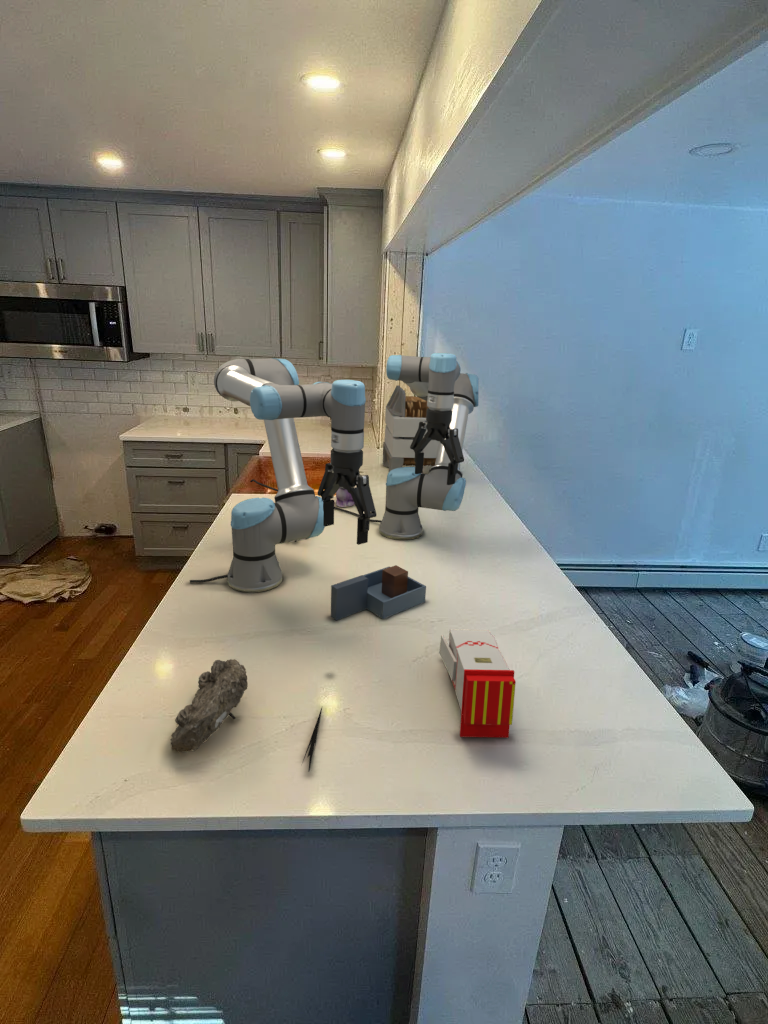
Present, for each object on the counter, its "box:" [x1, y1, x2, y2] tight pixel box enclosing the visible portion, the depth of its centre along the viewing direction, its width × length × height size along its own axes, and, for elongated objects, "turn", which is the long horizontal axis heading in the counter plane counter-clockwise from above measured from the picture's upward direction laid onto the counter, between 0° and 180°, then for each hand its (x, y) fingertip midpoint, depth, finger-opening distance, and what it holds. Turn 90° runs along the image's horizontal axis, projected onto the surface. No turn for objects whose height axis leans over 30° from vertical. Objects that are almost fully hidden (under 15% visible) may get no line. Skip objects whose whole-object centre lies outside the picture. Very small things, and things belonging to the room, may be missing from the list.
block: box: [382, 564, 409, 598], centre depth 155 cm, size 5×5×7 cm
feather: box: [301, 673, 332, 771], centre depth 108 cm, size 2×28×2 cm
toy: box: [438, 628, 517, 738], centre depth 117 cm, size 12×13×30 cm
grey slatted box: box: [381, 384, 461, 473], centre depth 268 cm, size 34×33×41 cm
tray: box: [330, 566, 427, 621], centre depth 150 cm, size 15×25×9 cm, turn 131°
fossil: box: [170, 658, 249, 753], centre depth 106 cm, size 22×10×15 cm
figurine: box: [335, 487, 355, 508], centre depth 225 cm, size 9×10×15 cm
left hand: (344, 533), depth 138 cm, fingers open, 13 cm apart
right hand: (434, 478), depth 172 cm, fingers open, 13 cm apart
